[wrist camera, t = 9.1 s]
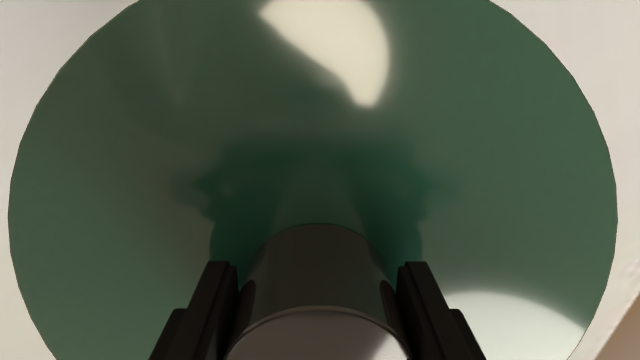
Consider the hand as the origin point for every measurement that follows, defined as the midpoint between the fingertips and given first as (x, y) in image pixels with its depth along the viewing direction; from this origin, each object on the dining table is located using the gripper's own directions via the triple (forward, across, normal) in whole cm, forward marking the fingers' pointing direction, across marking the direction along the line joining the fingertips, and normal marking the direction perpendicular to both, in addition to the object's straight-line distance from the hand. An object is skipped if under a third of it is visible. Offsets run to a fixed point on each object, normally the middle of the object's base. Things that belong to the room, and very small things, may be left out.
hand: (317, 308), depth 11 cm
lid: (+2, 0, 0) cm, 2 cm away
